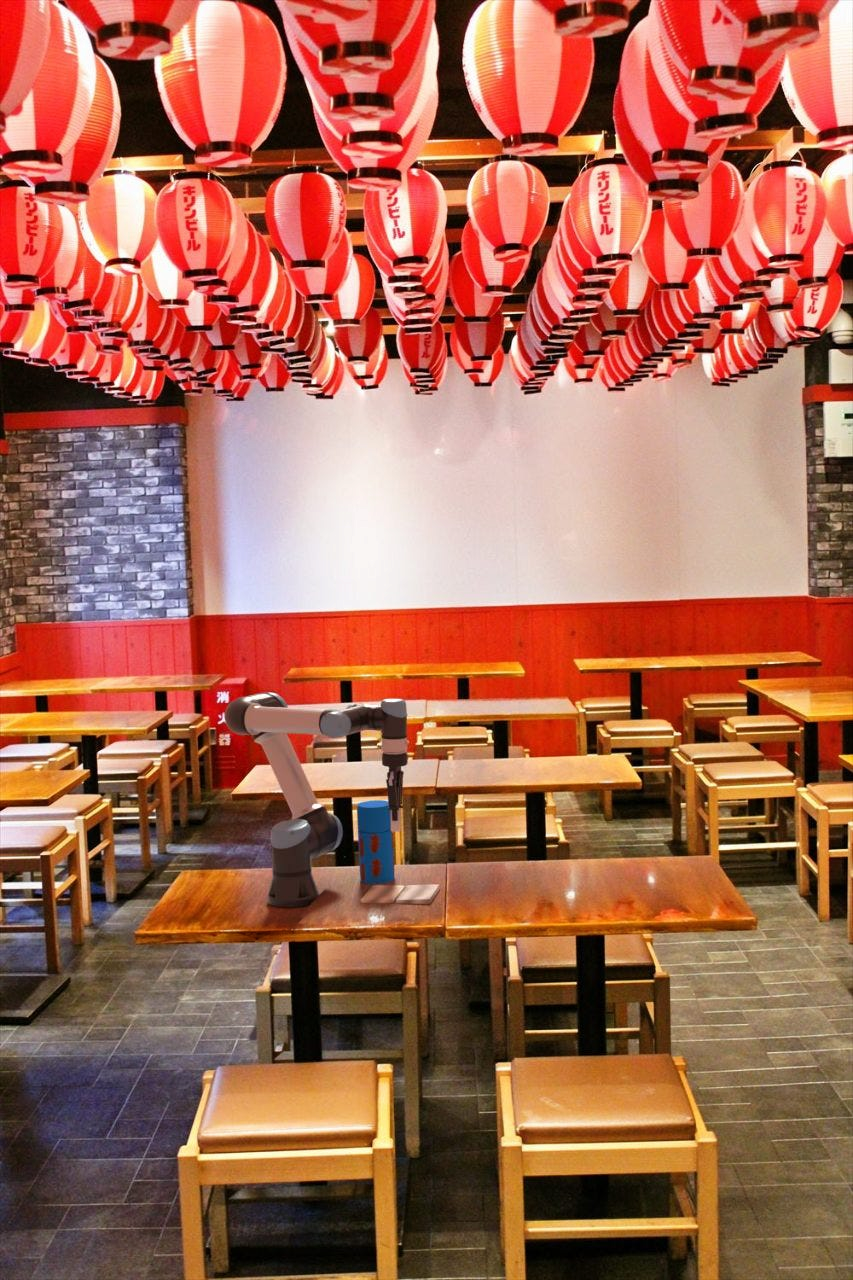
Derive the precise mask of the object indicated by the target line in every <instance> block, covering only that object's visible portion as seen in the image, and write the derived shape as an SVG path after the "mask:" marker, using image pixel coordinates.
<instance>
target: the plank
mask: <svg viewBox="0 0 853 1280" xmlns="http://www.w3.org/2000/svg"><path fill="white" fill-rule="evenodd" d="M440 889H441V886H440V884H436V883H435V884H412V885H411V884H407V885H405V889H404V890H403V891H402V893H401V894H400V895H399V897H398V898H397V899H396V901H395V903H396V904H409V905H410V904H412V905H413V904H414V905H415V904H418V905H430V904H431V903H432V901H433V900H434V899H435V897H436V896H437V894H438V893H439V891H440Z"/></svg>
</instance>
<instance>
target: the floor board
mask: <svg viewBox="0 0 853 1280" xmlns="http://www.w3.org/2000/svg"><path fill="white" fill-rule="evenodd" d="M405 887H406V885H399V884H398V885H393V884H392V885H390V884H386V885H385V884H383V885H382V884H373V885H372V886H371V887H370V888H369V889H368V891H367V892H366V893H365V894H364V895H363V896H362V897H361V899H360V903H364V904H365V903H367V904H369V903H370V904H371V903H372V904H373V903H374V904H395V903H396V899H397V898H398V897H399V895H400V894H401V893H402V891H403V890H404V889H405Z"/></svg>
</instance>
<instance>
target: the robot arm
mask: <svg viewBox="0 0 853 1280" xmlns="http://www.w3.org/2000/svg"><path fill="white" fill-rule="evenodd" d="M224 721H225V725H226V726H227V728H228V729H229V730H230V732H233V733H234V734H236V735H240V736H246V735H247V736H250V735H251V737H252V739H253V742H254V743H256V744H259V745H260V746H261V747H262V749H263V751H264V753H265V754H264V755H265V756H266V759H267V760H268V762H269V765H270V767H271V769H272V771H273V774H274V776H275V778H276V780H277V783H278V785H279V787H280V789H281V792H282V794H283V796H284V799H285V801H286V802H287V805H288V807H289V809H290V812H291V814H292V817H291V818H290V819H288V820H283V821H280V822H277V823H276V824H274V826H273V827H272V828H271V830H270V839H269V842H270V851H271V853H270V855H271V869H272V877H271V878H272V879H271V882H270V886H269V889H268V893H267V903H268V905H270V906H272V905H273V906H272V907H275V906H276V907H275V908H283V907H285V908H287V909H289V908H298V907H299V908H300V907H306V906H309V905H312V903H314V901H316V900H317V899H318V897H319V895H320V894H319V892H320V891H319V888H318V887H317V884H316V881H315V878H314V876H313V874H312V873H313V872H312V869H313V868H312V860H314V859H315V858H319V857H320V856H324V855H327V854H328V853H331V852H332V851H334V850H336V848H338V847H339V846H340V844H341V841H342V838H343V835H344V834H343V833H344V830H343V826H342V825H343V824H342V822H341V821H340V819H339V818H338V816H337V815H334V814H333V813H331V812H329V811H328V810H327V806H326V805H324V804H322V803H320V802H318V799H317V798H316V795H315V794H314V791H313V788H312V786H311V784H310V782H309V780H308V778H307V775H306V773H305V771H304V769H303V767H302V765H301V762H300V759H299V757H298V756H297V754H296V751H295V749H294V746H293V744H292V742H291V739H290V738H289V736H288V734H298V735H312V736H313V735H315V736H325V737H327V738H329V739H339V738H343V737H345V736H349V735H353V734H357V733H359V732H363V731H377V732H380V731H381V752H382V754H381V765H382V766H384V767H386V768H388V772H386V779H385V781H386V782H385V783H386V788H387V789H386V790H387V801H388V804H389V807H388V810H391V831H393V832H401V831H402V819H401V818H402V816H401V815H402V812H401V811H402V810H401V809H403V808H404V805H403V785H404V774H405V773H404V771H403V770H402V768H403V767H405V766H407V765H408V762H409V761H408V752H407V750H408V745H409V744H410V740H408V725H407V724H408V723H407V722H408V710H407V703H406V700H404V699H402V698H385V699H382V700H381V702H380V704H379V705H377V704H366V703H351V704H348V705H347V706H346V708H343V709H326V708H325V709H323V708H321V709H320V708H304V707H303V708H300V707H288V704H287V702H286V701H285V699H284V698H283V697H282V696H280V695H279V694H278V693H275V692H271V691H270V692H259V693H255V694H251V695H247V696H240V697H237V698H235V699H234V700H231V702H230V703H229V704H228V705H227V706H226V709H225V711H224Z"/></svg>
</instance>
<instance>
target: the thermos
mask: <svg viewBox="0 0 853 1280" xmlns="http://www.w3.org/2000/svg"><path fill="white" fill-rule="evenodd" d="M388 807H389V804H388V800H382V799H381V800H380V799H379V800H376V799H375V800H367V801H361V802H359V803H357V805H356V818H357V821H356V823H357V837H358V838H357V840H358V862H359V878H360V881H361V882H362V883H365V884H370V885H372V884H373V885H381V884H386V883H390V882H392V881H394V880H395V855H394V854H395V853H394V852H395V851H394V831H391V810H388Z"/></svg>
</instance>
